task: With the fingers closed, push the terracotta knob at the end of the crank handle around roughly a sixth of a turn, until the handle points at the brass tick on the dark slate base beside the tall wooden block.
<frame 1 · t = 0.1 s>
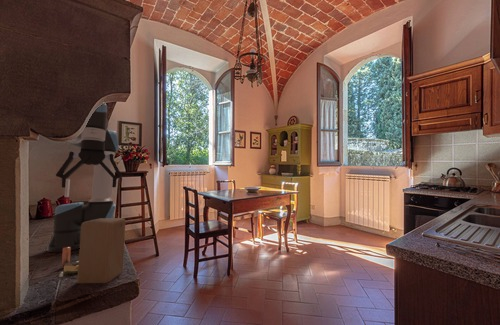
hand: (89, 196, 85), 28 cm above the table, fingers open, 13 cm apart
crank handle: (72, 259, 84), point 5 cm above the table, hinge at 0.0°
level base: (75, 274, 82), on the table
wooden block: (101, 280, 77), on the table
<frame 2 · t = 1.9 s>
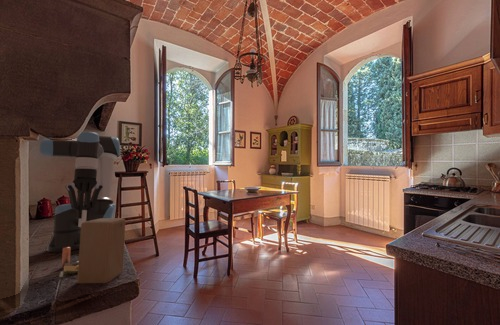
hand: (81, 226, 92), 16 cm above the table, fingers closed
nothing on the table moved.
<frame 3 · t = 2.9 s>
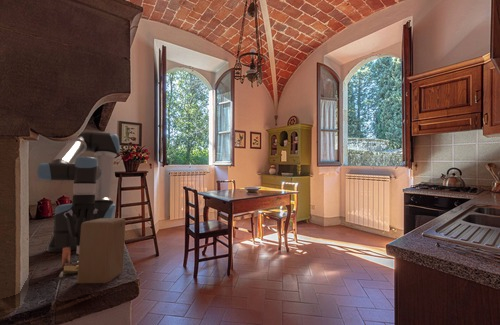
hand: (80, 253, 91), 5 cm above the table, fingers closed
nothing on the table moved.
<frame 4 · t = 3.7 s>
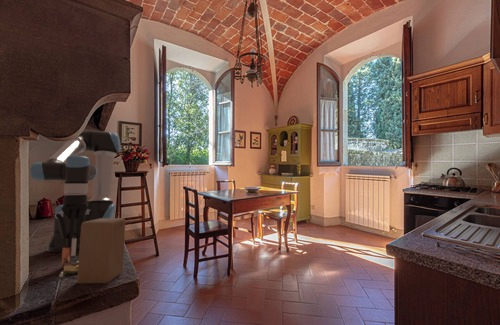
hand: (71, 255, 89), 5 cm above the table, fingers closed
crank handle: (72, 259, 84), point 5 cm above the table, hinge at 0.4°, touching gripper
everything else where it was.
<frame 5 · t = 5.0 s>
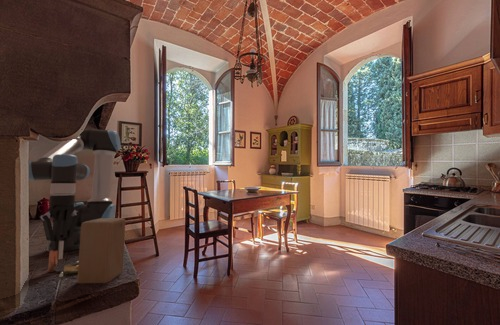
hand: (58, 258, 84), 5 cm above the table, fingers closed
crank handle: (68, 260, 83), point 5 cm above the table, hinge at 31.2°, touching gripper
everything else where it was.
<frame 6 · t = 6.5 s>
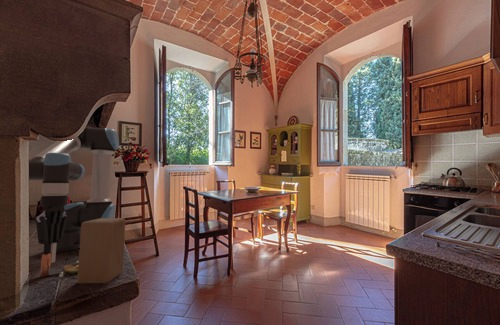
hand: (49, 262, 80), 5 cm above the table, fingers closed
crank handle: (65, 261, 81), point 5 cm above the table, hinge at 62.9°, touching gripper
everything else where it was.
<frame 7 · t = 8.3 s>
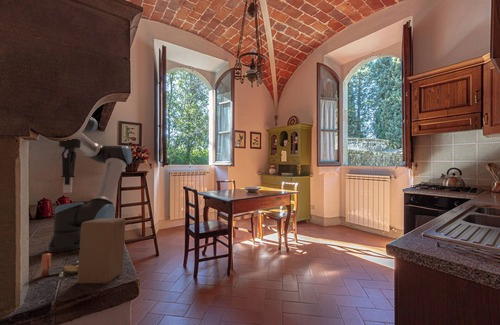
hand: (67, 192, 99), 29 cm above the table, fingers closed
crank handle: (65, 261, 81), point 5 cm above the table, hinge at 61.4°
everything else where it was.
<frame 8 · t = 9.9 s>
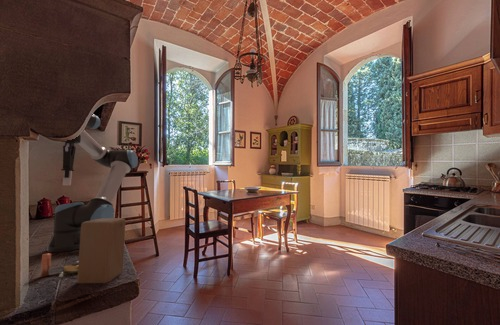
hand: (66, 185, 102), 32 cm above the table, fingers closed
nothing on the table moved.
at the end: crank handle at +61° (first picture: +0°); wooden block moved 0.2 cm from its start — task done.
